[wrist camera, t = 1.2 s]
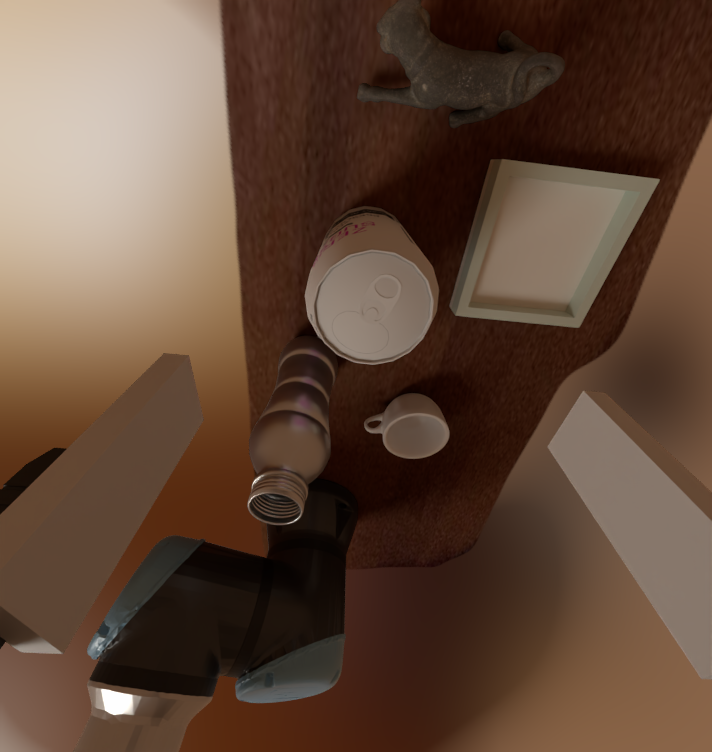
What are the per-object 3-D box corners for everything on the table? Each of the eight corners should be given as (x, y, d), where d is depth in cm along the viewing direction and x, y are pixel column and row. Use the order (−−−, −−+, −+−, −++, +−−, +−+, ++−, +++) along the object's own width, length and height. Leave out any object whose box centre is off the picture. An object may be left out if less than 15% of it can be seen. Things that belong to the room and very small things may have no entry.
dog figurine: (533, 38, 22) (602, -9, 16) (500, 138, 26) (546, 129, 19) (369, -3, 21) (375, -70, 15) (355, 107, 24) (356, 88, 18)
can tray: (565, 317, 34) (579, 327, 32) (449, 306, 34) (455, 315, 31) (637, 178, 27) (660, 179, 25) (490, 159, 26) (502, 159, 24)
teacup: (443, 384, 39) (454, 412, 35) (435, 429, 44) (444, 459, 39) (363, 384, 39) (364, 412, 35) (363, 429, 44) (364, 459, 39)
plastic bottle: (320, 319, 34) (286, 462, 18) (349, 365, 38) (343, 522, 21) (272, 343, 36) (200, 494, 19) (304, 385, 39) (265, 545, 23)
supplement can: (382, 306, 34) (396, 389, 21) (310, 270, 31) (281, 339, 19) (425, 233, 30) (474, 283, 17) (346, 186, 27) (338, 205, 15)
